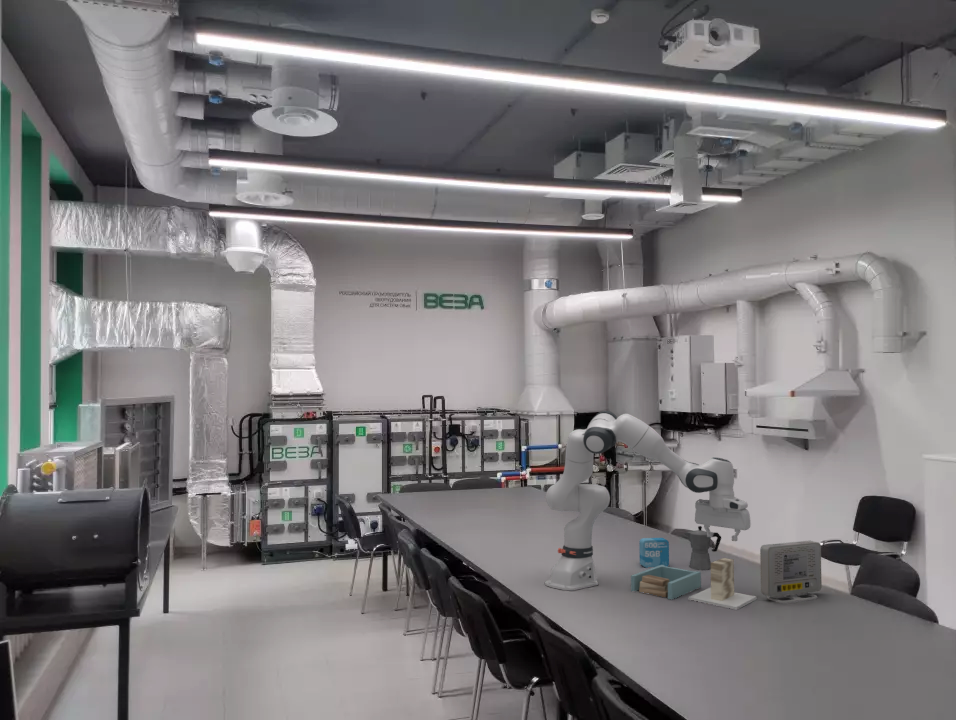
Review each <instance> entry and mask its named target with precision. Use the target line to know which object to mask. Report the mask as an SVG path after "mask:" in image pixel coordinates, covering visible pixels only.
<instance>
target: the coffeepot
mask: <svg viewBox="0 0 956 720" xmlns="http://www.w3.org/2000/svg"><path fill="white" fill-rule="evenodd" d="M697 528H698V529H697V530H691V531H686V532H684V535H685V536H686V537H687V539H688V541H689V542H690V543H689V544H690V548H691V549H692V550H691V554H690V560H689V568H690V567H691V569H693V570H695V571H708V570H709V571H710V570H711V563H712V562H711V558H710V553H709V549H710V544H711V539H712V538H715V537H716V540H715V544H714V548H713V549H711V551H712V552H715V553H716V552H717V551H718V550H719V546H720V544H721V541H722V536H721V534H719V532H713V534H712V535H713V537H712V538H710V537H707V532H706V530H702V529H703V527H702V526H701V525H698V526H697Z"/></svg>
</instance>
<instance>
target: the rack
mask: <svg viewBox="0 0 956 720" xmlns="http://www.w3.org/2000/svg"><path fill="white" fill-rule="evenodd" d="M701 574H702V572H701V571H700V570H694V571H693V570H689V569H688V570H687V569H682V568H677V567H671V566H665V565H659V566H657V567H654V568H647V569H645V570H643V571H639V572H638V573H634V574H632V575H630V592H632V591H636V592H638V591H637V590H639V587H640V582H641V581H642V577H643V576H646V575H652V576H657V577H661V578H666V579H669V583H668V597H667V600H669V599H671V600H670V601H673V600H675V599H677V597H678V598H680V597H682V596H684V595H687V594H689V593H691V592H693V590H694V591H695V589H696V590H698V589H700V588H701V587H702V575H701ZM699 587H700V588H699ZM697 588H698V589H697ZM690 591H691V592H690ZM688 592H689V593H688ZM686 593H687V594H686ZM681 595H682V596H681ZM679 596H680V597H679ZM674 598H675V599H674ZM672 599H673V600H672Z"/></svg>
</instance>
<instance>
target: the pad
mask: <svg viewBox="0 0 956 720" xmlns="http://www.w3.org/2000/svg"><path fill="white" fill-rule="evenodd" d="M691 600H694V601H693V602H696V601H698V602H697V603H701V602H704V603H703V604H706V603H708V604H707V605H710V604H713V605H712V606H715V605H716V606H717V607H720V608H725V609H729V608H730V610H734V611H735V610H736V611H737V610H740V609H741V608H743V607H745V606H746V605H749V604H751V603H752V602H754V601H756V600H757V596H755V595H751V594H745V593H740V592H735V591H734V595H733V596H731V597H729V598H727V599H725V600H723V601H719V600H714V599H711V587H708V588H706V589H704V590H702V591H700V592H699V591H698V592H696V593H695V594H692V595H690V596H689V597H688V601H691Z"/></svg>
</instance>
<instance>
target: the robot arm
mask: <svg viewBox="0 0 956 720" xmlns="http://www.w3.org/2000/svg"><path fill="white" fill-rule="evenodd" d="M618 442H621V443H623V444H624V445H626V447H628V448H629V449H630V450H631V449H632V451H634V452H635V453H637V454H639V455H640V456H642V457H644V458H647V459H651V460H655V461H658V462H659V463H661V464H662V465H663V466H665V467H666V468H668V469H669V470H671V471H672V472H673V473H674V474H675V475H676V476H677V477H678V479H679V481H680V482H681V485H683V486H684V487H685V488H687V489H688V490H689V491H691V492H693V493H697V494H701V493H707V492H708V493H709V497H708V498H709V499H701V498H699V499H698V500H696V501H695V505H694V506H695V513H694V522H695V524H698V525H703V528H704V531H706V532H707V537H710V538H711V539H712V538H714V537H713V535H712V534H713V533H714V532H713V531H711V530H710V528H711V527H716V528H717V527H718V528H724V529H725V528H726V529H733V530H734V532H735V533H734V535H731V541H732V542H737V541H738V537H739V534H740V533H741V531H747V530H750V528H751V516H750V511H749V510H748V509H747V508H748V505H749V504H748V502H747V501H744V500H742V499H740V498H738V497H737V496H735V491H734V484H735V474H734V473H735V472H734V466H733V463H732V462H731V461H730V460H728V459H726V458H721V457H711V458H709V460H707V461H706V462H703V463H701V464H698V463H696V462H691V461H687V460H685V459H684V458H682V457H681V456H680V455H679V454H678V453H676V452H674V451H673V450H671V449H670V448H669V446H668V445H667V444H666V442H665V441H664V438H663V437H662V436H661V435H660V433H659V432H657V431H656V430H655V429H654V428H652V426H650V425H649V424H647V423H646V422H645V421H643V420H641V419H640V418H637V417H636V416H633V415H632V414H630V413H622V414H621V415H619V416H618V417H617V415H616V414H615V413H614V412H612V411H610V410H602V411H600V412H597V413H596V414H595V415H594V416H593V417H592V419H591V420H590V422H588V424H587V428H585V429H581V428H578V429H575V430H573V431H571V432H569V434H568V439H567V441H566V447H565V460H564V461H565V463H564V468H563V473H562V475H561V477H560V478H559V479H558V481H556V482H555V483H554V484H552V485H550V487H548V489H547V490H546V494H545V500H546V501H545V502H546V504H547V506H548V508H550V509H551V510H555V511H559V512H578V513H579V514H578V516H577V517H576V518H574V519H572V520H570V521H568V522H567V523H566V524H565V526H564V528H563V532H564V533H563V534H564V535H563V537H564V538H563V539H564V541H563V546H562V548H560V547H558V549H557V553H558V554H560V555H561V556H560V558H559V559H558V560H557V562H556V563H555V564H554V566H553V567H552V568H551V571H550V578H549V579H548V580H546V581H545V582H544V586H546V587H549V588H553V589H557V590H563V591H578V590H580V589H581V590H583V589H586V588H590V587H596V586H599V581H598V580H597V575H596V574H597V572H596V564H595V562H594V560H593V555H594V547H593V545H592V541H593V540H592V539H593V538H592V537H593V527H594V524H595V521H596V520H597V518H598V516H599V515H600V514H601V513H602V512H603V511H605V510H606V509H607V508H608V507H609V505H610V501H611V495H610V492H609V489H607V488H606V487H605V486H603V485H600V484H595V483H593V484H591V483H587V484H586V483H584V482H586V481H587V480H589V479H590V477H592V475H593V471H594V457H595V456H594V454H595V455H598V454H603V453H605V452H607V451H608V450H609V449H611V448H612V447H614V446H616V445H617V443H618Z"/></svg>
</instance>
